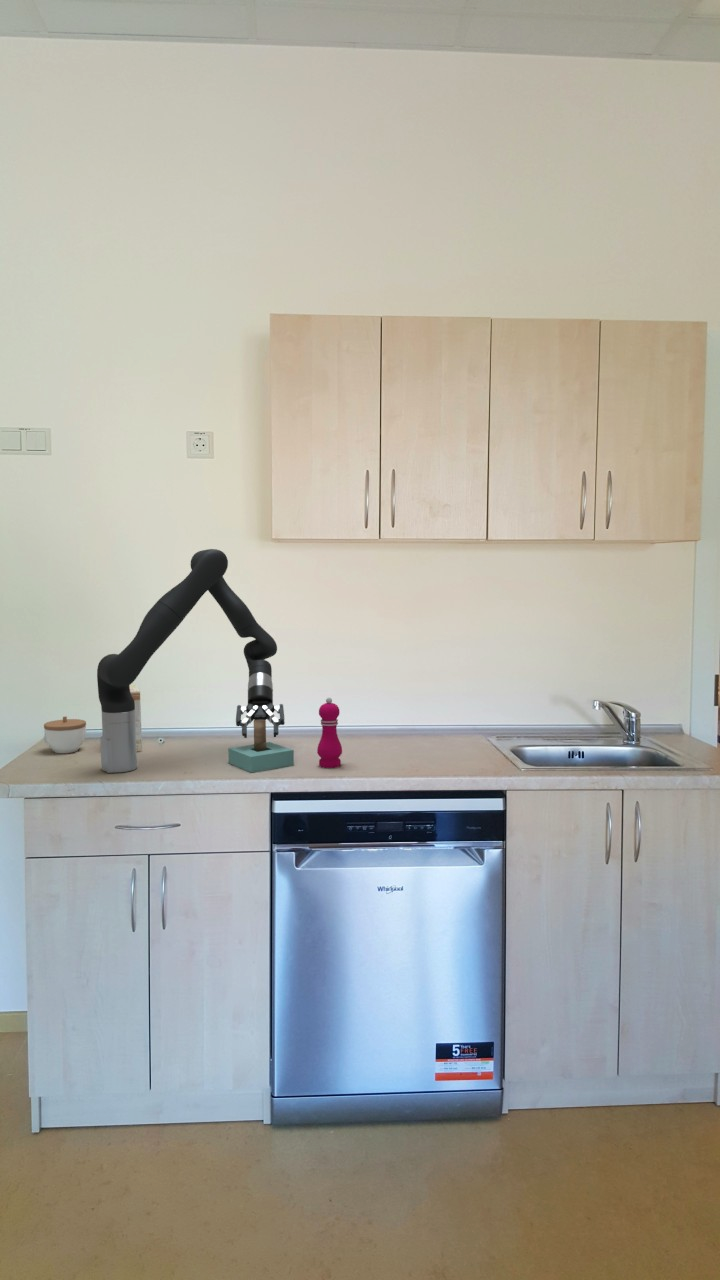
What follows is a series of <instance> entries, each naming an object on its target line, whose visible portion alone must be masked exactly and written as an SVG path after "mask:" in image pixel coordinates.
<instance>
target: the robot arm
mask: <svg viewBox="0 0 720 1280" xmlns="http://www.w3.org/2000/svg"><path fill="white" fill-rule="evenodd" d="M228 565H229V560H228V557H227V554H226V553H225V552H224V551H222V550H220V549H217V548H209V549H204V550H203V549H202V550H198V551H197V552H195V553H194V554H193V555H192V556H191V559H190V569H191V571H190V572H189V573H188V574H187V575H186V576H185V578H184V579H182V580H181V582H179V583H178V584H177V585H174V587H172V588H171V589H170V590H168V591H167V592H166V593H164V594H163V595H162V596H161V597H160V598H159V599H158V600H157V601H156V602H155V604H153V606H152V607H151V608H150V609H149V610H148V611H147V613H146V614H145V616H144V617H143V619H142V622H141V624H140V625H139V628H138V630H137V632H136V635H134V637H133V638H132V640H131V641H130V642H129V644H128V645H127V646H125V648H124V649H123V650H122V651H121V652H119V653H118V654H117V653H111V654H107V655H105V656H104V657H102V658H101V659H100V661H99V663H98V665H97V669H96V670H97V671H96V672H97V673H96V677H97V678H96V680H97V692H98V699H99V700H98V701H99V704H100V707H101V730H102V731H101V734H102V736H100V738H99V739H100V741H99V742H100V743H99V744H100V762H101V763H100V766H101V770H102V771H104V772H105V773H108V774H111V773H113V774H114V773H124V772H125V773H126V772H132V771H134V770H136V769H137V768H138V758H137V757H138V755H137V754H138V752H136V725H135V702H134V699H133V697H132V695H131V693H130V685H132V684H133V683H134V681H136V679H138V677H139V675H140V674H141V672H142V670H143V669H144V668H145V666H146V665H147V664H148V662H149V660H150V659H151V658H152V657H153V655H154V654H155V653H156V652H157V651H158V650H159V648H160V647H161V646H162V645H163V644H164V643H165V642H166V640H167V639H168V638H169V637H170V636H171V635H172V634H173V633H174V631H176V630H177V628H178V627H179V626H180V625H181V623H182V622H183V621H184V620H185V618H186V617H187V616H188V615H189V613H190V612H191V611H192V610H193V609H194V607H195V606H196V605H197V604H198V602H199V601H200V599H201V598H202V597H203V596H204V595H205V593H206V592H208V593H209V594H211V596H212V597H213V599H214V600H215V601H216V603H217V604H218V606H220V608H221V610H222V611H223V613H224V614H225V616H226V617H227V619H228V621H229V622H230V624H231V626H232V627H233V629H234V630H235V631H236V632H235V633H236V634H237V635H238V637H239V638H242V639H244V638H245V639H246V638H253V640H251V641H249V642H247V643H246V644H245V645H244V648H243V655H244V659H245V661H246V664H247V666H248V683H247V705H246V706H241V705H240V704H238V705H237V706H236V711H235V712H236V716H235V726H236V727H241V735H242V737H243V738H244V739H247V738H248V726H249V724H251V723H253V722H254V720H258V719H263V720H266V721H269V723H270V724H272V725H273V738H276V737H277V736H278V735H279V726H281V725H282V726H284V725H285V723H286V722H285V709H284V704H283V703H280V704H279V705H274V698H273V697H274V694H273V693H274V688H273V687H274V686H273V685H274V684H273V678H272V677H273V676H272V673H273V671H272V668H273V667H272V664H271V663H270V662H269V661H268V660H267V659H270V658H271V657H274V656H275V655H276V654H277V652H278V645H277V642H276V641H275V639H274V638H273V637H272V635H270V634H269V633H268V632H267V631H266V630H265V629H264V628H263V627H262V626H261V624H259V623H258V622H257V620H256V619H255V617H254V615H253V613H252V612H251V610H250V609H249V608H248V606H247V604H246V603H245V602H244V601H243V600H242V599H241V598H240V597H239V596H238V595H237V594H236V593H235V591H234V590H232V588H231V587H230V586H229V584H228V583H227V582H226V580H225V578H224V575H225V574H226V573H227V570H228ZM245 712H246V713H247V714H246V715H245V717H244V718H243V719H242V715H244V714H245ZM274 712H276V713H277V714H278V715H279V718H277V717H276V716H275V714H274Z"/></svg>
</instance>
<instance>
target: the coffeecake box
mask: <svg viewBox="0 0 720 1280" xmlns="http://www.w3.org/2000/svg"><path fill="white" fill-rule="evenodd" d="M130 693H131V695H132V697H133V699H134V702H135V725H136V752H137V751H142V752H143V739H142V738H143V735H142V711H141V710H142V709H141V705H142V704H141V691H140V690H139V688H138V686H137V685H136V684H130ZM137 753H138V752H137Z"/></svg>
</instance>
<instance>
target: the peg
mask: <svg viewBox="0 0 720 1280" xmlns="http://www.w3.org/2000/svg"><path fill="white" fill-rule="evenodd" d="M266 721H267V719H266V720H263V719H258V720H253V744H254V751H256V752H259V751H266V742H267V729H266V728H267V725H266V724H267V722H266Z"/></svg>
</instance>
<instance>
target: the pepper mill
mask: <svg viewBox="0 0 720 1280" xmlns="http://www.w3.org/2000/svg"><path fill="white" fill-rule="evenodd" d="M340 714H341V713H340V707H339V706H338V705H337V704H336V703H333V699H332V698H331V697H327V698H326V699H325V703H322V704H321V705H320V707H319V709H318V715H319V717H320V718H321V719H320V725H321V727H322V728H321V729H322V731H321V732H322V733H321V737H320V740H319V742H318V745H317V750H316V751H317V754H318V756H319V757H320V758H319V760H318V766H319V767H320V768H323V767H324V769H335V767H336V768H339V767H341V765H342V763H341V762H342V761H341V760H342V759H340V757H341V756H342V754H343V747H342V744H341V742H340V739H339V737H338V732H337V726H338V724H339V720H338V717H339V716H340Z"/></svg>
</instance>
